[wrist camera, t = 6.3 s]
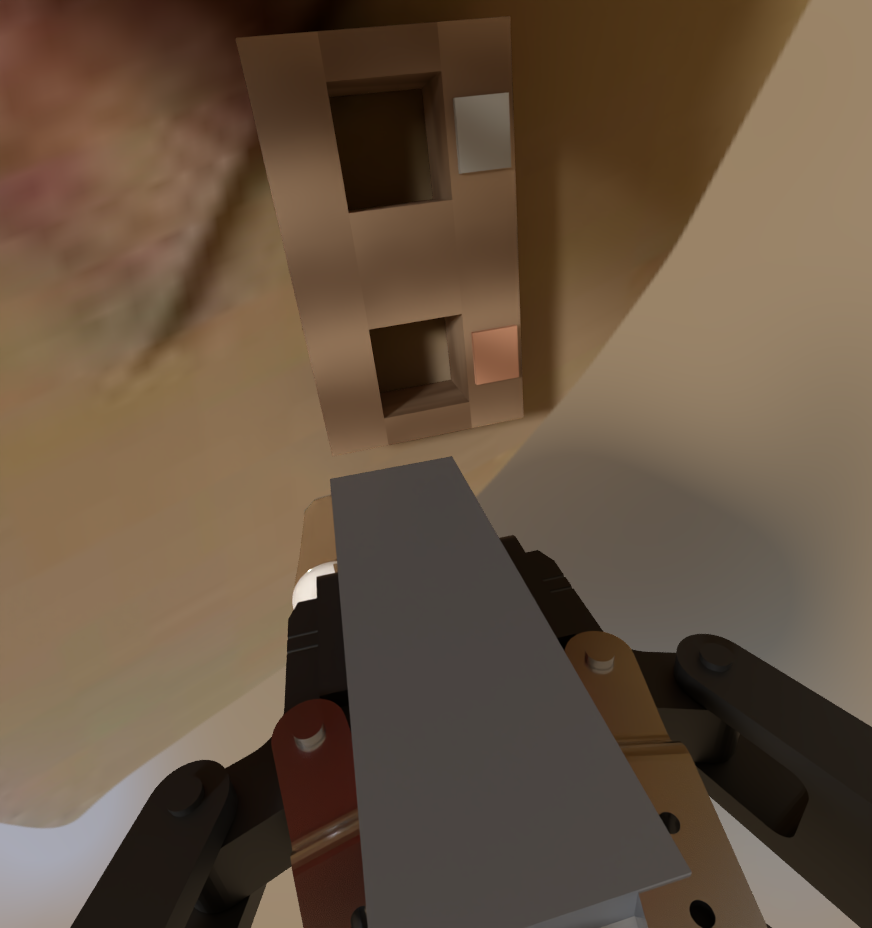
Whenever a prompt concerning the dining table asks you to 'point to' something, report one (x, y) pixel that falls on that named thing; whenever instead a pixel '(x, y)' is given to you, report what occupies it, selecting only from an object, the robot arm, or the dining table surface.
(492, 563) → the plug
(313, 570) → the milkshake
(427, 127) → the port deck
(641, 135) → the dining table surface
